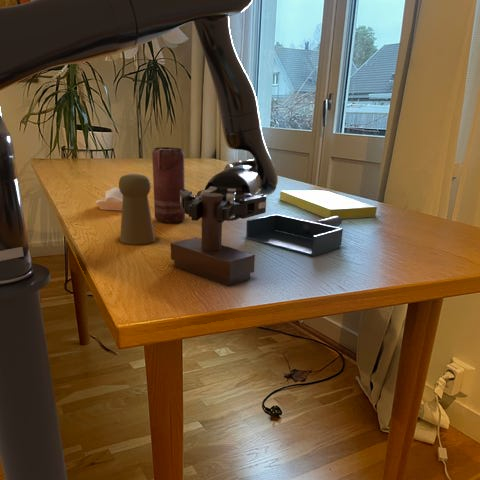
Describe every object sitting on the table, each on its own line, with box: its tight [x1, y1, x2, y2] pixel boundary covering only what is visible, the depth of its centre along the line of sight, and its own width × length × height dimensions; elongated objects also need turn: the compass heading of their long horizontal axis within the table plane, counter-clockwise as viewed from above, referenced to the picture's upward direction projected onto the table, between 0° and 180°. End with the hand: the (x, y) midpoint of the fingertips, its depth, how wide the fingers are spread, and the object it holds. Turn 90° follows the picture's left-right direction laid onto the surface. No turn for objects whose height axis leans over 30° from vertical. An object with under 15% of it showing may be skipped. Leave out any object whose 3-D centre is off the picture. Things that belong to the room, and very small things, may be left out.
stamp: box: [170, 193, 256, 287], centre depth 66 cm, size 5×12×11 cm, turn 47°
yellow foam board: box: [279, 190, 378, 220], centre depth 115 cm, size 12×2×24 cm
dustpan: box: [245, 213, 344, 257], centre depth 88 cm, size 19×15×3 cm
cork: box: [118, 173, 156, 246], centre depth 81 cm, size 6×6×11 cm
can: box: [151, 146, 186, 224], centre depth 94 cm, size 6×6×14 cm
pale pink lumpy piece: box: [95, 186, 123, 212], centre depth 106 cm, size 10×4×10 cm
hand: (206, 213), depth 62 cm, fingers closed on stamp, 3 cm apart
